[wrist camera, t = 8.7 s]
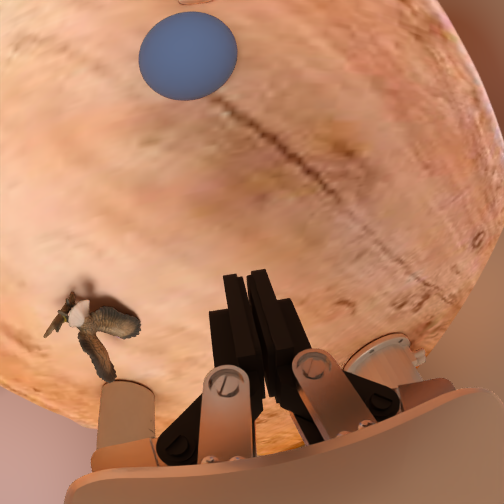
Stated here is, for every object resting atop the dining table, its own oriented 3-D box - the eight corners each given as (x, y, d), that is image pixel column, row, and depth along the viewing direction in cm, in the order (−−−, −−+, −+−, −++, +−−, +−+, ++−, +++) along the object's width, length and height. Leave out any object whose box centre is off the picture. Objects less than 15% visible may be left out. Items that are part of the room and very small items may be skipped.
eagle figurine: (50, 326, 25) (113, 372, 28) (35, 345, 19) (115, 401, 22) (85, 273, 27) (148, 322, 31) (76, 279, 21) (157, 340, 24)
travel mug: (101, 399, 36) (96, 505, 21) (103, 373, 32) (95, 500, 18) (149, 408, 39) (155, 513, 24) (159, 385, 35) (166, 508, 21)
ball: (240, 43, 11) (245, 109, 17) (228, -12, 12) (234, 49, 17) (119, 70, 11) (153, 126, 17) (131, 9, 12) (155, 64, 17)
